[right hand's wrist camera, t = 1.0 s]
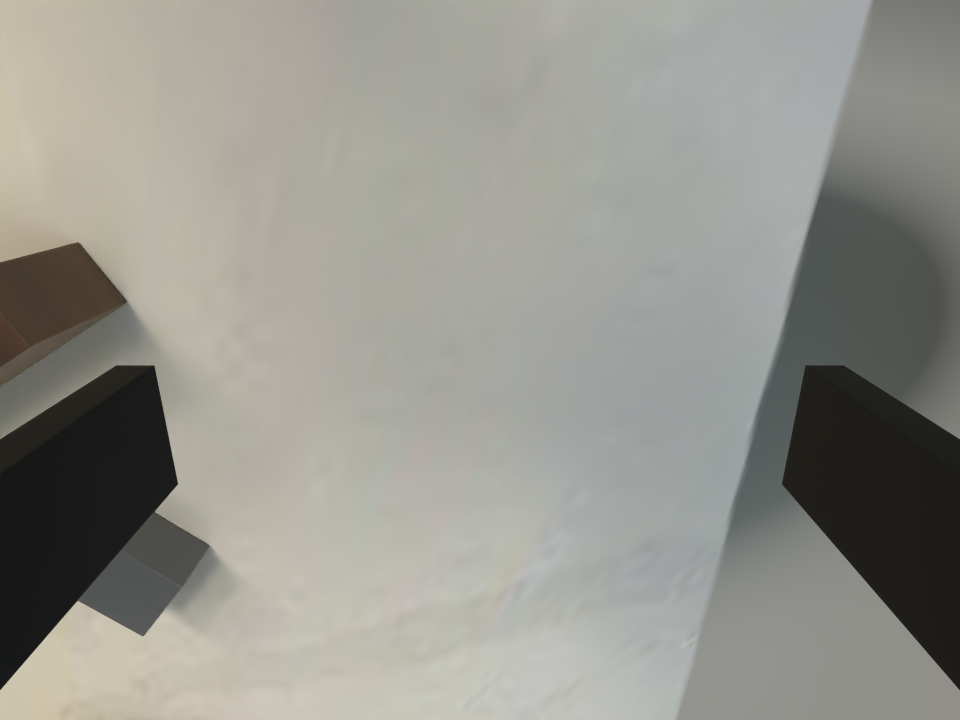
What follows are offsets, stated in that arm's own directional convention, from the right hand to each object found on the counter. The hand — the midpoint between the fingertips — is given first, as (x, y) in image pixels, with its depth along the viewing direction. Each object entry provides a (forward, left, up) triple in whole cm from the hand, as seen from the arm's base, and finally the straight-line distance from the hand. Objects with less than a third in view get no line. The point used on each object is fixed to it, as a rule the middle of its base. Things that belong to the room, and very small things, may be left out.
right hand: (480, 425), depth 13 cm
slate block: (+6, -29, -23) cm, 37 cm away
